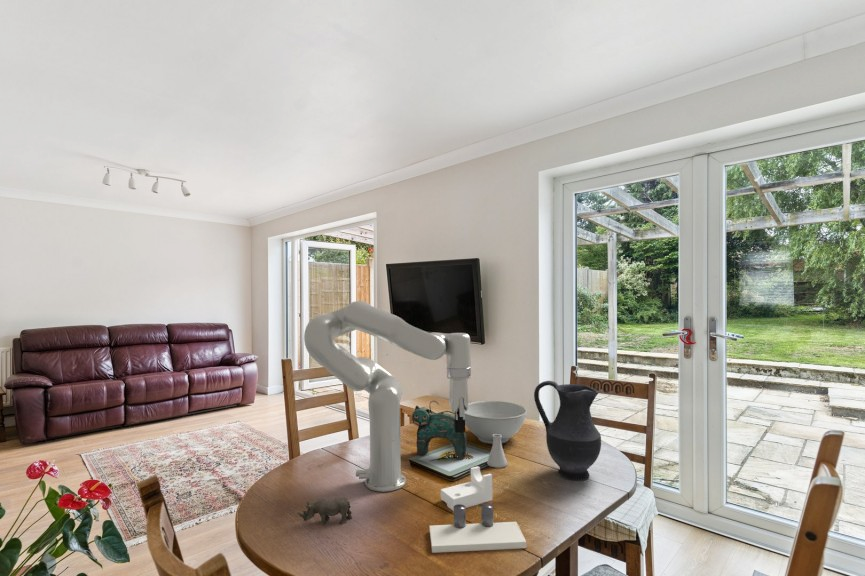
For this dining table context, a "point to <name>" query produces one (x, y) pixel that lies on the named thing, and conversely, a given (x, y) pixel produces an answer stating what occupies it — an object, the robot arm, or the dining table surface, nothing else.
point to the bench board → (476, 537)
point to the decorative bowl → (494, 419)
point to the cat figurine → (437, 430)
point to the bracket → (469, 491)
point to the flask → (497, 453)
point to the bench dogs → (485, 515)
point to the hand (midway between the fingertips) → (459, 431)
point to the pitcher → (571, 430)
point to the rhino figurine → (328, 509)
